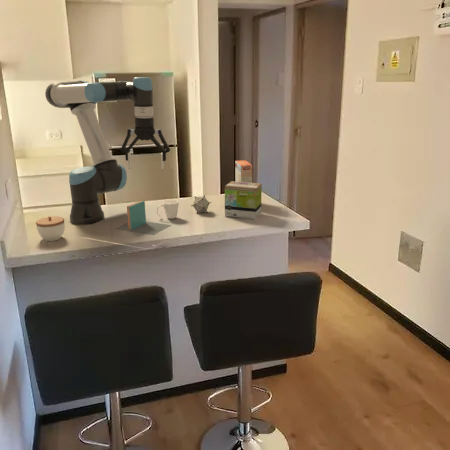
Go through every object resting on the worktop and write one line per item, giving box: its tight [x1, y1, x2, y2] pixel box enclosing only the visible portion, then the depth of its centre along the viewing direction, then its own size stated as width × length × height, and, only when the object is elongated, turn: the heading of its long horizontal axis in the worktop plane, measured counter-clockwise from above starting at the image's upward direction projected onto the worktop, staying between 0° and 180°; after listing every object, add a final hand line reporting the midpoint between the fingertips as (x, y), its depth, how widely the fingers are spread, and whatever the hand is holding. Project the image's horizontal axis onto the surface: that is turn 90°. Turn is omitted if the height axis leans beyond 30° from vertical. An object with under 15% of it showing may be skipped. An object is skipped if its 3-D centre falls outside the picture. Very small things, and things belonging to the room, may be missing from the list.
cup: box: [156, 199, 180, 220], centre depth 213 cm, size 7×10×8 cm
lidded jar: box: [35, 215, 66, 242], centre depth 190 cm, size 11×11×9 cm
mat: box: [114, 220, 172, 236], centre depth 202 cm, size 20×14×1 cm
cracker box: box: [234, 159, 253, 183], centre depth 234 cm, size 14×6×21 cm, turn 10°
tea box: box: [224, 180, 263, 220], centre depth 217 cm, size 15×10×15 cm
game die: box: [190, 194, 212, 214], centre depth 223 cm, size 9×8×10 cm
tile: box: [126, 200, 147, 230], centre depth 202 cm, size 2×10×10 cm, turn 154°
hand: (146, 168), depth 199 cm, fingers open, 13 cm apart
